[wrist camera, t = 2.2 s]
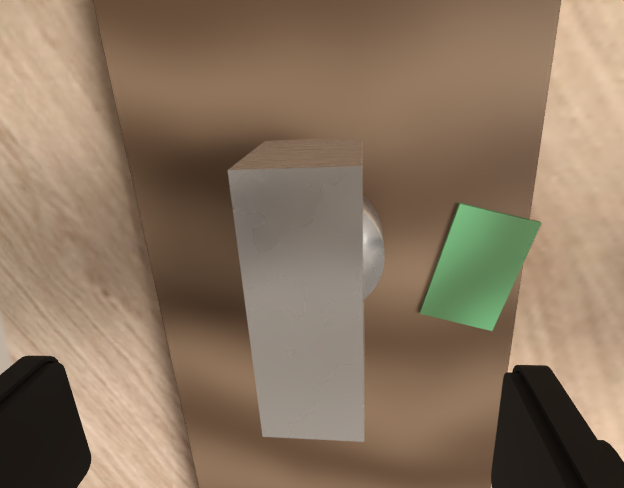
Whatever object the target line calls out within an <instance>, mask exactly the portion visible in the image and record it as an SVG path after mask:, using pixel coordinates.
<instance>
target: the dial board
mask: <svg viewBox="0 0 624 488" xmlns="http://www.w3.org/2000/svg"><path fill="white" fill-rule="evenodd" d="M93 3H94V7H95V12H96V16H97V21H98V26H99V30H100V35H101V39H102V44H103V48H104V53H105V58H106V62H107V67H108V71H109V76H110V81H111V85H112V90H113V94H114V99H115V103H116V108H117V113H118V117H119V122H120V126H121V131H122V135H123V140H124V145H125V149H126V154H127V158H128V163H129V168H130V172H131V177H132V181H133V186H134V190H135V195H136V200H137V204H138V209H139V213H140V218H141V222H142V227H143V232H144V236H145V241H146V245H147V250H148V255H149V259H150V264H151V268H152V273H153V277H154V282H155V287H156V291H157V296H158V300H159V305H160V309H161V314H162V319H163V323H164V328H165V332H166V337H167V342H168V346H169V351H170V355H171V360H172V364H173V369H174V374H175V378H176V383H177V387H178V392H179V396H180V401H181V406H182V410H183V415H184V419H185V424H186V429H187V433H188V438H189V442H190V447H191V451H192V456H193V461H194V465H195V470H196V474H197V479H198V483H199V488H491V470H492V462H493V454H494V447H495V439H496V431H497V423H498V415H499V407H500V399H501V391H502V383H503V377H504V374H505V373H506V372H507V371H508V364H509V357H510V350H511V343H512V336H513V329H514V323H515V316H516V309H517V302H518V295H519V288H520V281H521V274H522V267H523V262H524V260H525V258H526V256H527V254H528V252H529V249H530V247H531V245H532V243H533V241H534V238H535V236H536V234H537V232H538V230H539V227H540V225H541V222H539V221H535V220H531V219H530V212H531V205H532V198H533V192H534V185H535V178H536V171H537V164H538V157H539V150H540V143H541V136H542V130H543V123H544V116H545V109H546V102H547V95H548V88H549V81H550V74H551V67H552V61H553V54H554V47H555V40H556V33H557V26H558V19H559V12H560V5H561V0H93ZM354 137H362V146H363V195H364V196H365V197H366V198H367V199H368V200H369V201H370V202H371V204H372V205H373V207H374V208H375V210H376V212H377V214H378V216H379V219H380V221H381V226H382V233H383V243H384V255H385V260H384V268H383V272H382V275H381V278H380V280H379V282H378V284H377V285H376V287H375V288H374V290H373V291H372V292H371V293H370V294H369V295H368V296H367V297H366V298H365V299H364V338H365V422H364V442H357V441H337V440H317V439H298V438H278V437H263V436H262V429H261V421H260V413H259V406H258V398H257V391H256V383H255V375H254V368H253V360H252V353H251V345H250V337H249V330H248V322H247V314H246V307H245V299H244V292H243V284H242V276H241V269H240V261H239V253H238V246H237V238H236V231H235V223H234V215H233V208H232V200H231V192H230V185H229V177H228V169H230V168H231V167H232V166H234V165H235V164H236V163H237V162H239V161H240V160H241V159H243V158H244V157H245V156H246V155H248V154H249V153H250V152H252V151H253V150H254V149H255V148H257V147H258V146H259V145H261V144H262V143H263V142H265V141H276V140H302V139H328V138H354Z"/></svg>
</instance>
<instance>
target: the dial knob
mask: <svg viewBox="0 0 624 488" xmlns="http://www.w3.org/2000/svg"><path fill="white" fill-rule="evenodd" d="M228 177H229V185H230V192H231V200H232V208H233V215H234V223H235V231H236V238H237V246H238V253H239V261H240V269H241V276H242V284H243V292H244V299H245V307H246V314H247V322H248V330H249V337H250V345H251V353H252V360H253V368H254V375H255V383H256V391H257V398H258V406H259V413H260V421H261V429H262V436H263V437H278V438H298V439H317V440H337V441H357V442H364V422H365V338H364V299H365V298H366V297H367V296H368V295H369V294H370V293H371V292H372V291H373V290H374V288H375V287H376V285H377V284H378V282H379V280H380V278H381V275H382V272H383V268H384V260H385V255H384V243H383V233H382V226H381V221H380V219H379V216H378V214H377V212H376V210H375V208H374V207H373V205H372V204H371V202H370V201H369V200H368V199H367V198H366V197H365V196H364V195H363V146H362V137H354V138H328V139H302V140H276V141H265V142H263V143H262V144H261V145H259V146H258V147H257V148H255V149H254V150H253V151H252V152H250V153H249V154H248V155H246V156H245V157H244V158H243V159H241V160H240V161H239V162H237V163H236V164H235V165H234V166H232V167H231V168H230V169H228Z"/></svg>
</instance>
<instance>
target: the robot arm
mask: <svg viewBox="0 0 624 488" xmlns="http://www.w3.org/2000/svg"><path fill="white" fill-rule="evenodd" d="M90 464H91V453H90V450H89V447H88V443H87V440H86V437H85V434H84V430H83V427H82V424H81V420H80V417H79V414H78V411H77V407H76V404H75V401H74V397H73V394H72V391H71V388H70V384H69V381H68V378H67V374H66V371H65V368H64V366H63V365H62V364H60V363H59V362H58V360H57V359H56V358H55V357H52V356H24V357H22V358H21V359H19V360H18V361H17V362H15V363H14V364H13V365H12V366H11V367H9V368H8V369H7V370H6V371H5V372H3V373H2V374H1V375H0V488H77V487H78V485H79V484H80V482H81V481H82V480H83V478H84V477H85V475H86V474H87V472H88V470H89V467H90ZM491 483H492V488H624V462H623V461H622V459H621V458H620V456H619V455H618V453H617V452H616V451H615V450H614V448H613V447H612V446H611V445H610V444H609V443H607V442H606V441H604V440H597V438H596V437H595V435H594V434H593V432H592V431H591V429H590V428H589V426H588V425H587V423H586V421H585V420H584V418H583V417H582V415H581V414H580V412H579V411H578V409H577V408H576V406H575V405H574V403H573V402H572V400H571V399H570V397H569V396H568V394H567V393H566V391H565V390H564V388H563V387H562V385H561V384H560V382H559V381H558V379H557V378H556V376H555V375H554V373H553V371H552V370H551V369H550V368H549V367H548V366H541V365H516V366H515V367H514V369H513V372H512V373H508V372H506V373H505V374H504V377H503V383H502V391H501V399H500V407H499V415H498V423H497V431H496V439H495V447H494V454H493V462H492V470H491Z"/></svg>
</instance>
